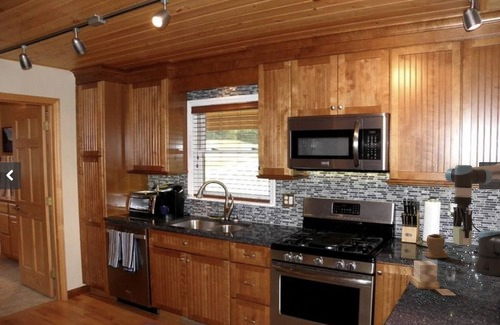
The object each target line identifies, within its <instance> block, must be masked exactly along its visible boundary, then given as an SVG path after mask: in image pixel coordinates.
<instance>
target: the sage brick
mask: <svg viewBox="0 0 500 325" xmlns="http://www.w3.org/2000/svg"><path fill="white" fill-rule="evenodd" d="M462 230H464V229H463V226H461V227H455V226H453V227H452V243H453V244H456V245H458V246H464V245H463V244H462V239H463V231H462ZM472 236H473V230H472V231H470V232H469V245H468V246H472V242H473V240H472V238H473V237H472Z"/></svg>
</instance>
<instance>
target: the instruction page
mask: <svg viewBox="0 0 500 325" xmlns="http://www.w3.org/2000/svg"><path fill="white" fill-rule="evenodd" d="M434 290H435V291H436V292H438V293H439V294H440V295H442V296H456V294H455V293H454V292H453V291H452V290H450V289H448V288H440V289H434Z"/></svg>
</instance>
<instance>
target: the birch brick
mask: <svg viewBox="0 0 500 325" xmlns="http://www.w3.org/2000/svg"><path fill="white" fill-rule="evenodd" d="M413 276H414V277H415V278H416V279H418V280H419V281H424V282H437V281H438V280H437V279H438V265H437V264H435V263H434V262H432V261H430V260H413Z"/></svg>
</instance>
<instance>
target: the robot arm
mask: <svg viewBox="0 0 500 325" xmlns="http://www.w3.org/2000/svg"><path fill="white" fill-rule="evenodd" d="M444 178H445V180H446V181H447V182H449V183H453V184H454V189H453V193H454V194H453V195H454V197H453V198H454V199H453V204H455V205H456V206H454V207H453V208H452V209H453V221H452V223H453V224H452V226H453V227H463V229H464V230H462V231H463V239H462V244H463V245H462V246H470V245H469V232H470V231H472V232H473V211H474V210H471V209H470V207H469V206H471V205H472V204H473V203H472V199H473V198H472V196H473V195H472V194H473V193H472V192H473V185H487V184H490V182H492V180H496V179H497V180H499V181H500V162H499V163H496V164H493V165H483V166H472V165H471V164H470V165H469V164H468V165H467V164H456V165H455V166H454V167H453V168H447V170H446V171H445V174H444ZM477 242H478V257H477V260H476V262H475V265H474V271H475V272H476V273H479V274H483V275H487V276H493V277H500V230H481V231H480V232H479V233H478V241H477Z"/></svg>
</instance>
